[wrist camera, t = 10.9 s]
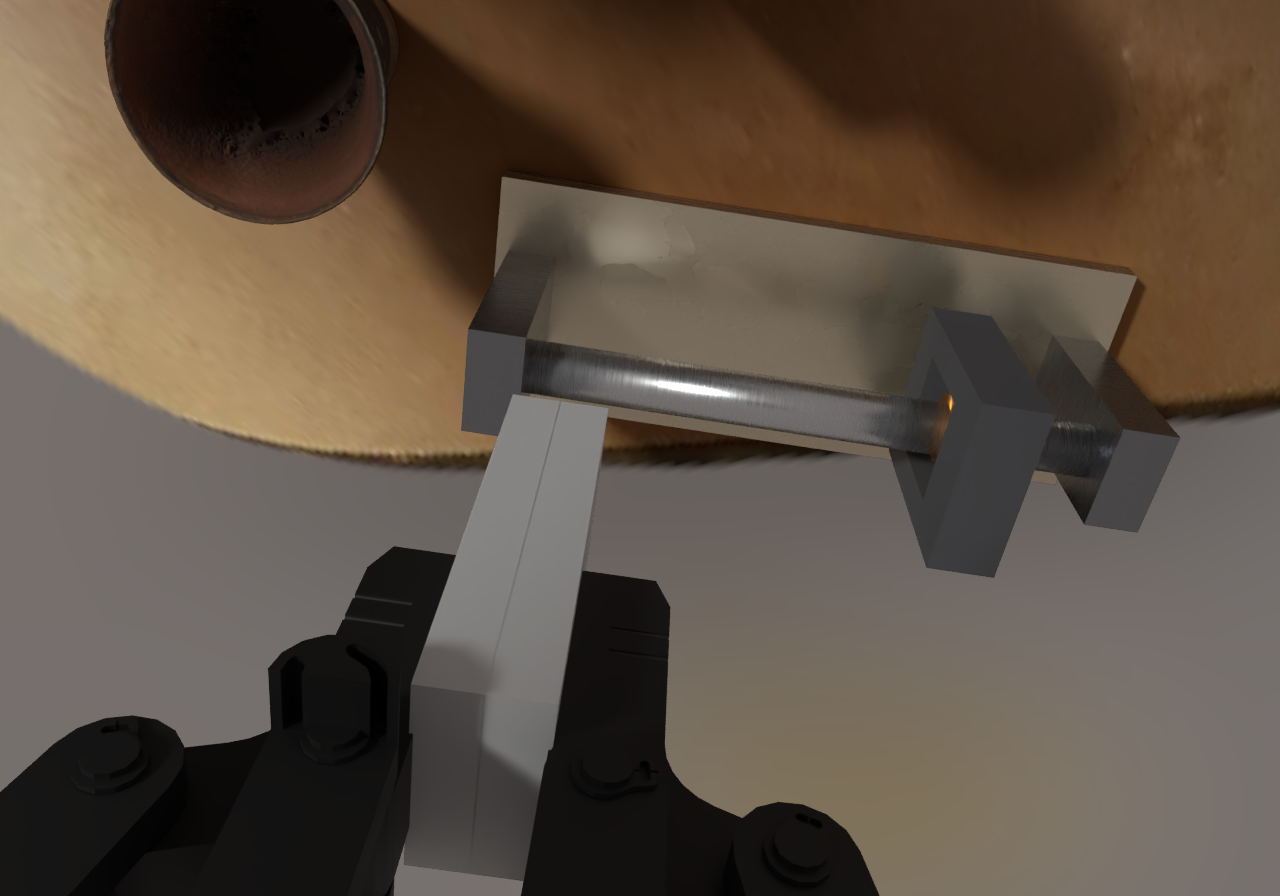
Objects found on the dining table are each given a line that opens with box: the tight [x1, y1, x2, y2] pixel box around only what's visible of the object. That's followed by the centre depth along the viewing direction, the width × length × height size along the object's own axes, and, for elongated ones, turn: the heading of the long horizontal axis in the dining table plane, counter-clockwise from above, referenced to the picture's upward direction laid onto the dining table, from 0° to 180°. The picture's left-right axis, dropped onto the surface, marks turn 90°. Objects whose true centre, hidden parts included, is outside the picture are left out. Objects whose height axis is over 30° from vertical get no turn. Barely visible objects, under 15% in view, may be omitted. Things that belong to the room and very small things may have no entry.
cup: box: [104, 0, 399, 224], centre depth 37 cm, size 9×9×10 cm
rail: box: [461, 171, 1180, 532], centre depth 41 cm, size 26×10×10 cm, turn 82°
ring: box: [889, 307, 1056, 578], centre depth 39 cm, size 2×6×8 cm, turn 172°
